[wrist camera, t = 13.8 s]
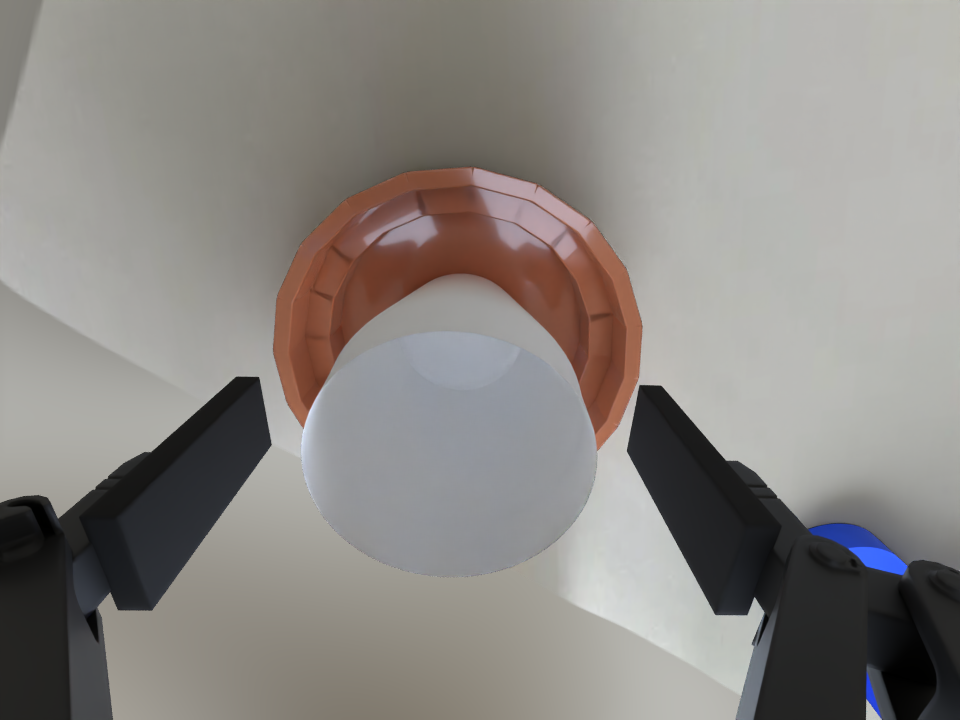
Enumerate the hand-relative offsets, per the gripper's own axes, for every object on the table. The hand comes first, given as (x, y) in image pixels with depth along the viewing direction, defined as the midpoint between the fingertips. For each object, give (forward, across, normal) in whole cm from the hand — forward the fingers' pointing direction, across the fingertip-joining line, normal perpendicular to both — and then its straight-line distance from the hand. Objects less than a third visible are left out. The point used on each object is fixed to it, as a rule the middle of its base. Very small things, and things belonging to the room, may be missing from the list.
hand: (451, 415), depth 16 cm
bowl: (+10, 0, 0) cm, 10 cm away
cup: (+9, 0, 0) cm, 9 cm away
